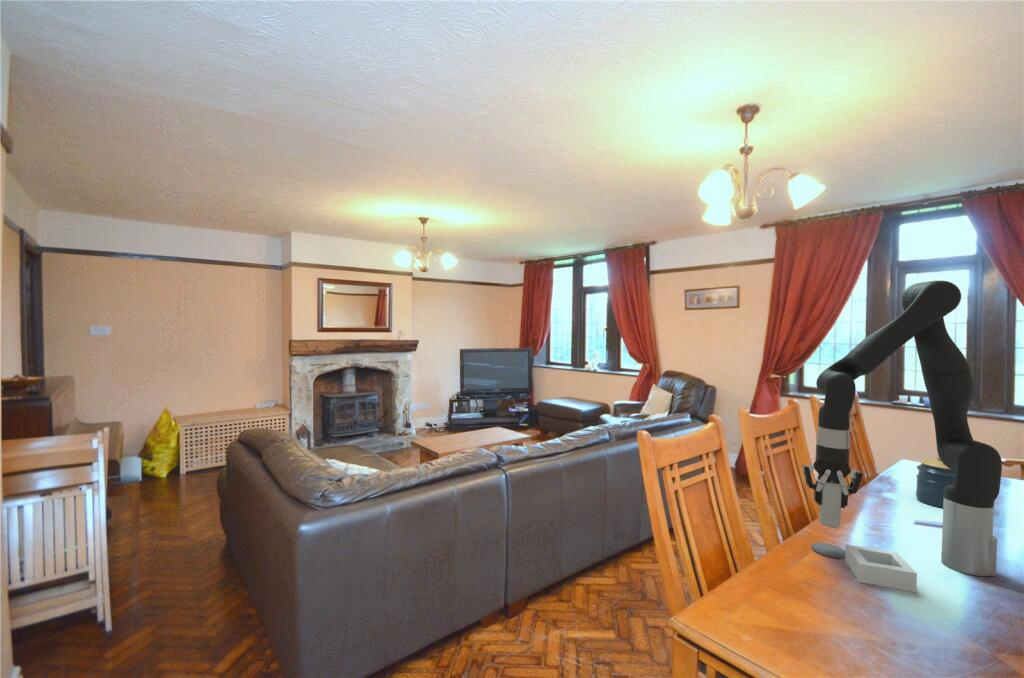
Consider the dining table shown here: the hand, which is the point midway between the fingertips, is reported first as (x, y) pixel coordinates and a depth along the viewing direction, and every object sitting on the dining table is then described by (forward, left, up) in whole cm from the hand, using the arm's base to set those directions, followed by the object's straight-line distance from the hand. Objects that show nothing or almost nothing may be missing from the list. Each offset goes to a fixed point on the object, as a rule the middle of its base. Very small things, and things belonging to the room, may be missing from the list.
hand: (830, 505), depth 126 cm
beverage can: (0, 0, -6) cm, 6 cm away
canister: (-48, -59, -13) cm, 77 cm away
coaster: (0, 0, -13) cm, 13 cm away
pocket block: (-8, +10, -13) cm, 18 cm away
